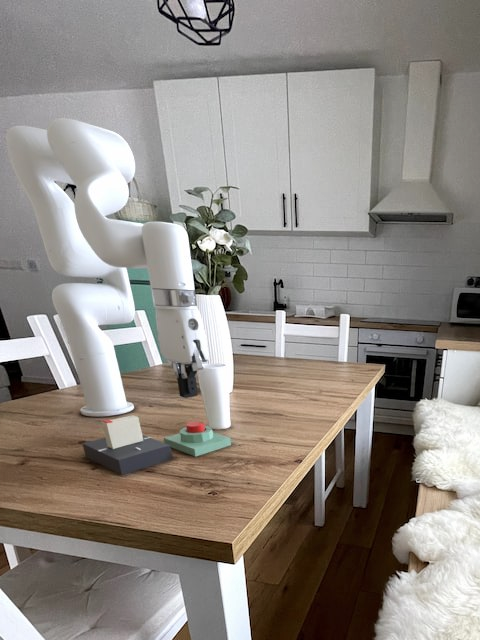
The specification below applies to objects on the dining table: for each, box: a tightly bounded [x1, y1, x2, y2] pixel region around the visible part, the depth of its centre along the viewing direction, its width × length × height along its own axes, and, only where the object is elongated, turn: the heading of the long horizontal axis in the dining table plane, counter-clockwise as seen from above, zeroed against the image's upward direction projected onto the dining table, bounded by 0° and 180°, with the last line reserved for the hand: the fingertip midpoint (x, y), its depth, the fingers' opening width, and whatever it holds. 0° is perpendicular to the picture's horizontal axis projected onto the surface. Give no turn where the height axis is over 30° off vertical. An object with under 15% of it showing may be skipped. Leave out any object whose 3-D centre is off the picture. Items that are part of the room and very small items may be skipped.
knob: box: [101, 414, 143, 449], centre depth 77 cm, size 6×2×5 cm, turn 146°
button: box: [185, 421, 205, 433], centre depth 85 cm, size 4×4×2 cm
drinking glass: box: [197, 363, 232, 431], centre depth 95 cm, size 7×7×15 cm
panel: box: [81, 434, 173, 476], centre depth 78 cm, size 14×10×3 cm
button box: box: [163, 425, 232, 458], centre depth 86 cm, size 11×9×4 cm
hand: (189, 396), depth 82 cm, fingers closed
